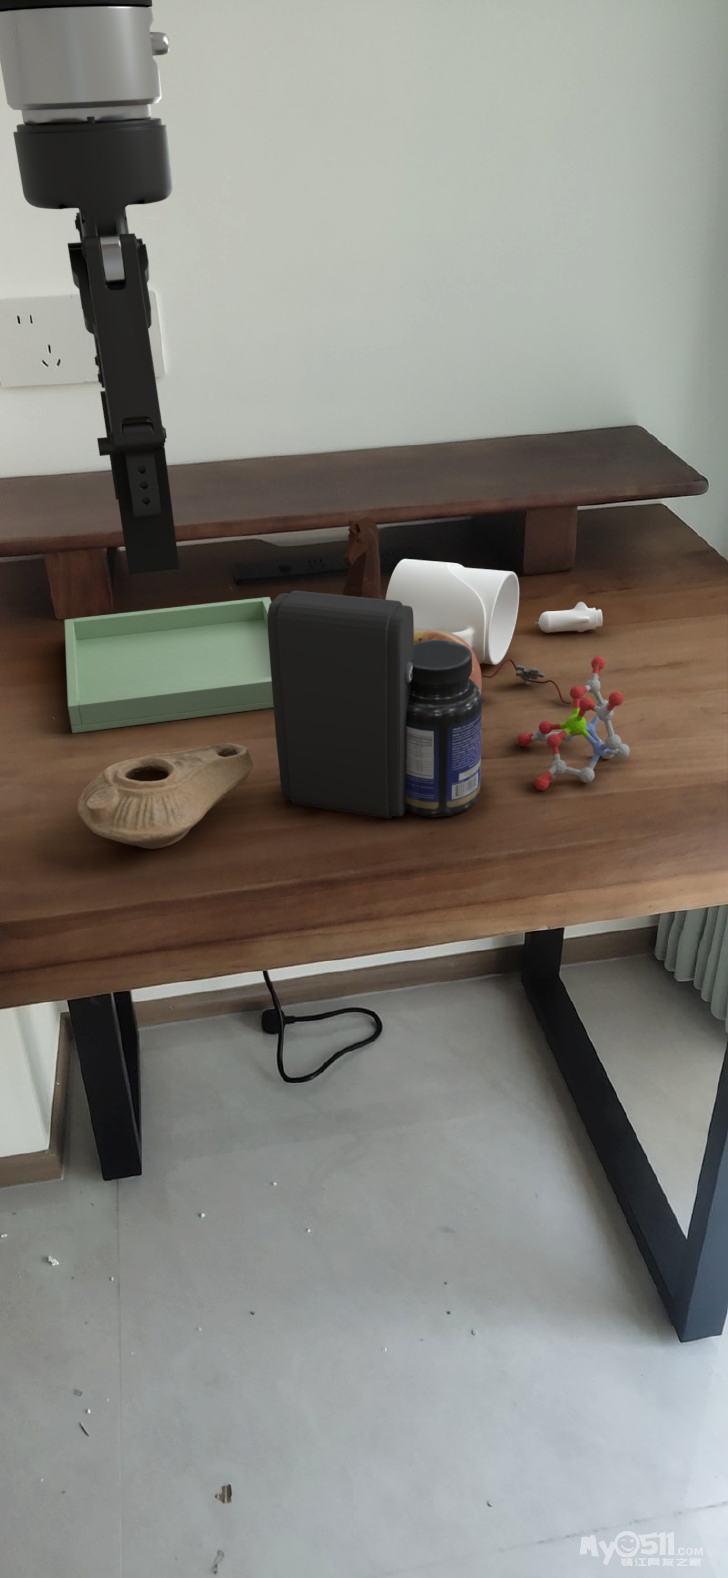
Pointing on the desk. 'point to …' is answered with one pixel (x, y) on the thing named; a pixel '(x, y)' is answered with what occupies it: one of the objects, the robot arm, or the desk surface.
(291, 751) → the dark grey rectangular block
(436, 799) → the pill bottle
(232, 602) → the tray
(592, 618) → the small white plastic part
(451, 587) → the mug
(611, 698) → the molecular model
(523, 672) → the pendant
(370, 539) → the chess piece
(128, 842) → the pottery oil lamp
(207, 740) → the desk surface
